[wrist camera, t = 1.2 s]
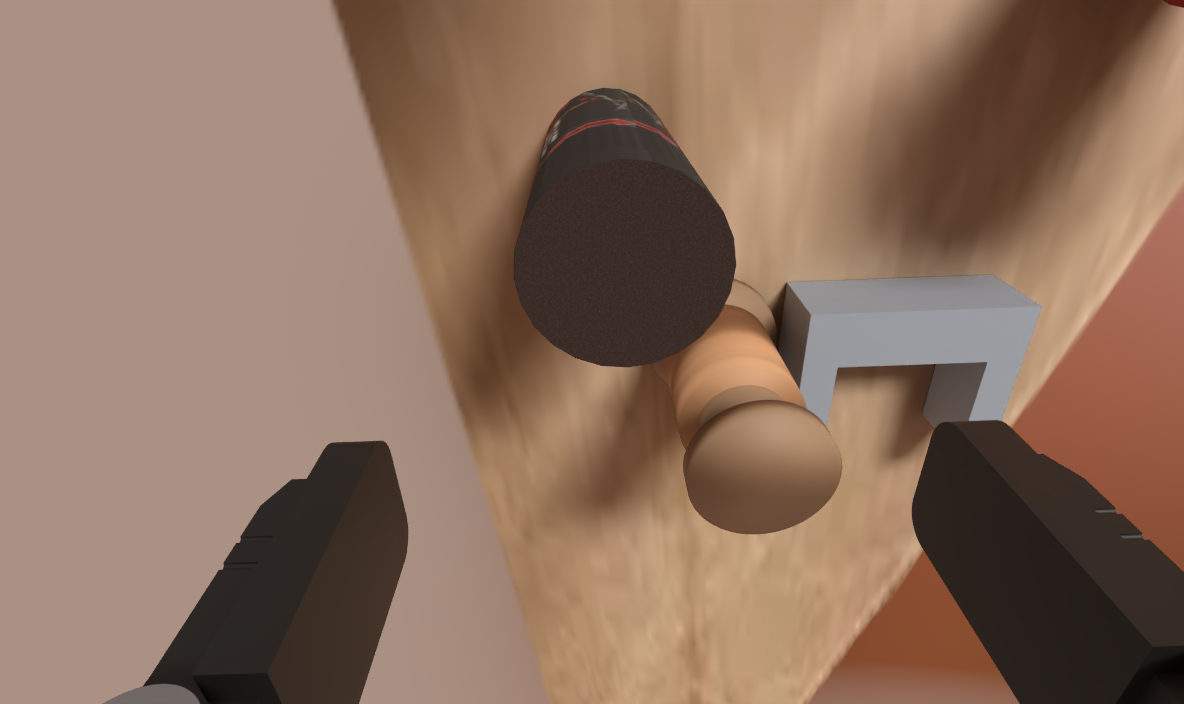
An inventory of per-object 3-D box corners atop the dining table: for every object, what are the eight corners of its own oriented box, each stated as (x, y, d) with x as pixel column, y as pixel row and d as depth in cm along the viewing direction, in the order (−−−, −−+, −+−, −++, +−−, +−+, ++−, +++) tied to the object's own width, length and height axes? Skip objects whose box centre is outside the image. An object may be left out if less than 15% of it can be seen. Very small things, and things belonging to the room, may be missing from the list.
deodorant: (555, 75, 28) (531, 135, 15) (682, 103, 28) (767, 185, 15) (535, 202, 31) (499, 348, 18) (651, 225, 31) (699, 382, 18)
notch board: (786, 282, 33) (811, 314, 29) (993, 274, 33) (1042, 306, 29) (769, 419, 37) (788, 462, 34) (951, 413, 37) (989, 455, 34)
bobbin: (646, 278, 33) (676, 407, 22) (778, 273, 33) (870, 399, 22) (645, 389, 36) (671, 545, 26) (765, 385, 36) (839, 539, 26)
